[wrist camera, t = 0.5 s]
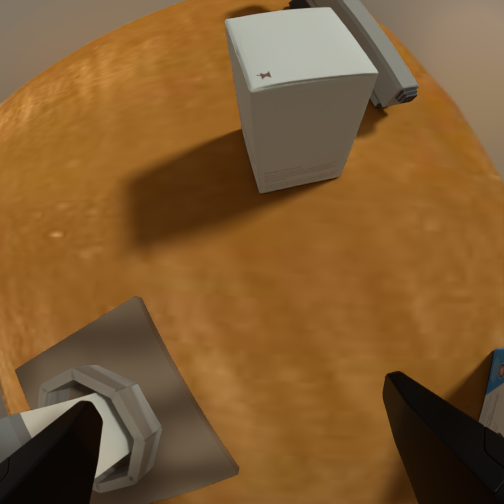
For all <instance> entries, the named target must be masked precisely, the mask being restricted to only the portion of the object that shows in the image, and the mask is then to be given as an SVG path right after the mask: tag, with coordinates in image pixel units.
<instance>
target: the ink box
mask: <svg viewBox="0 0 504 504" xmlns="http://www.w3.org/2000/svg"><path fill="white" fill-rule="evenodd" d="M479 422H480V423H481V424H483V425H484V427H485V426H486V427H488V428H489V429H491V430H493V431H494V432H496V433H498V434H499V435H501V436H503V437H504V348H501V349H495V350H494V355H493V361H492V367H491V372H490V377H489V382H488V386H487V391H486V396H485V399H484V403H483V407H482V411H481V414H480V418H479Z"/></svg>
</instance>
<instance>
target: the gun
mask: <svg viewBox="0 0 504 504" xmlns="http://www.w3.org/2000/svg"><path fill="white" fill-rule="evenodd" d="M289 5H290V7H291V8H292V9H304V8H322V7H330V8H331V9H332V10H333V11H334V12H335V14H336V15H337V16H338V17H339V19H340V20H341V21H342V23H343V24H344V25H345V26H346V28H347V29H348V30H349V32H350V33H351V34H352V36H353V37H354V38H355V40H356V41H357V42H358V44H359V45H360V47H361V48H362V49H363V51H364V52H365V54H366V55H367V56H368V58H369V59H370V61H371V62H372V64H373V65H374V67H375V68H376V69H377V71H378V75H377V78H376V81H375V84H374V87H373V89H372V92H371V95H370V99H371V101H372V103H373V104H374V106H375V107H377V108H380V107H388V106H392V105H396V104H402V103H406V102H410V101H412V100H413V99H414V98H415V97H416V96H417V93H416V92H417V90H416V89H417V88H418V87H419V86H418V84H417V82H416V80H415V79H414V77H413V75H412V74H411V72H410V71H409V69H408V67H407V66H406V64H405V63H404V61H403V59H402V58H401V56H400V55H399V53H398V52H397V50H396V49H395V47H394V46H393V44H392V43H391V42H390V40H389V39H388V37H387V36H386V34H385V33H384V32H383V30H382V29H381V28H380V26H379V25H378V24H377V22H376V21H375V20H374V18H373V17H372V16H371V14H370V13H369V12H368V11H367V9H366V8H365V7H364V6H363V4H362V3H361V2H360V1H359V0H292V1H290V2H289Z"/></svg>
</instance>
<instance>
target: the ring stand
mask: <svg viewBox="0 0 504 504" xmlns="http://www.w3.org/2000/svg"><path fill="white" fill-rule="evenodd" d="M15 371H16V374H17V376H18V379H19V382H20V384H21V387H22V389H23V392H24V394H25V396H26V399H27V401H28V403H29V406H30V408H31V410H35V409H39V408H43V407H47V406H51V405H54V404H58V403H62V402H66V401H69V400H73V399H76V398H80V397H83V396H87V395H90V394H93V393H97V392H99V393H101V394H103V395H105V396H107V397H109V398H111V400H112V402H113V404H114V406H115V407H116V409H117V411H118V413H119V415H120V417H121V418H122V420H123V422H124V424H125V425H126V427H127V429H128V430H129V432H130V434H131V436H132V437H133V439H134V444H133V449H132V451H131V452H129V453H128V454H127V455H126V456H124V457H123V458H122V459H120V460H119V461H118V462H116V463H115V464H114V465H112V466H111V467H110V468H108V469H107V470H106V471H104V472H103V473H102V474H100V475H99V476H98V477H96V478H95V479H94V484H93V489H92V494H91V499H90V504H149V503H153V502H157V501H160V500H164V499H167V498H171V497H174V496H178V495H181V494H184V493H187V492H190V491H193V490H196V489H199V488H202V487H205V486H208V485H211V484H214V483H216V482H219V481H222V480H224V479H227V478H229V477H232V476H234V475H237V474H238V472H239V467H238V465H237V464H236V462H235V461H234V460H233V458H232V457H231V455H230V454H229V452H228V451H227V449H226V448H225V446H224V445H223V443H222V442H221V440H220V439H219V437H218V436H217V434H216V432H215V431H214V429H213V428H212V426H211V425H210V423H209V421H208V420H207V418H206V417H205V415H204V413H203V412H202V410H201V408H200V407H199V405H198V403H197V402H196V400H195V398H194V397H193V395H192V393H191V392H190V390H189V388H188V386H187V385H186V383H185V381H184V379H183V378H182V376H181V374H180V372H179V370H178V369H177V367H176V365H175V363H174V361H173V359H172V358H171V356H170V354H169V352H168V350H167V348H166V346H165V344H164V342H163V341H162V339H161V337H160V335H159V333H158V331H157V329H156V327H155V325H154V323H153V321H152V319H151V317H150V315H149V312H148V310H147V308H146V306H145V304H144V302H143V300H142V298H141V297H137V296H135V297H133V298H132V299H130V300H128V301H127V302H125V303H123V304H122V305H120V306H118V307H117V308H115V309H113V310H112V311H110V312H108V313H107V314H105V315H103V316H102V317H100V318H98V319H97V320H95V321H93V322H92V323H90V324H88V325H87V326H85V327H83V328H82V329H80V330H78V331H77V332H75V333H74V334H72V335H70V336H69V337H67V338H65V339H64V340H62V341H60V342H59V343H57V344H56V345H54V346H52V347H51V348H49V349H47V350H46V351H44V352H43V353H41V354H39V355H38V356H36V357H35V358H33V359H31V360H30V361H28V362H27V363H25V364H23V365H22V366H20V367H19V368H17V369H15Z"/></svg>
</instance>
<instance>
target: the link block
mask: <svg viewBox="0 0 504 504" xmlns="http://www.w3.org/2000/svg"><path fill="white" fill-rule="evenodd" d="M81 400H85V401H91V402H92V403H93V404H94V405H95V407H96V409H97V410H98V412H99V413H100V415H101V417H102V419H103V428H102V436H101V443H100V452H99V459H98V465H97V470H96V475H95V478H96V477H98V476H99V475H100V474H102V473H103V472H104V471H106V470H107V469H108V468H110V467H111V466H112V465H114V464H115V463H116V462H118V461H119V460H120V459H122V458H123V457H124V456H126V455H127V454H128V453H129V452H131V451H132V449H133V444H134V439H133V437H132V436H131V434H130V432H129V430H128V429H127V427H126V425H125V424H124V422H123V420H122V418H121V417H120V415H119V413H118V411H117V409H116V407H115V406H114V404H113V402H112V400H111V398H109V397H107V396H105V395H103V394H101V393H99V392H97V393H93V394H90V395H87V396H83V397H80V398H76V399H73V400H69V401H66V402H62V403H58V404H54V405H51V406H47V407H43V408H39V409H35V410H31V411H27V412H23V413H18V414H14V415H9V416H6V417H4V418H2V419H0V463H1V462H2V461H4V460H5V459H6V458H7V457H9V456H10V455H11V454H13V453H14V452H15V451H16V450H18V449H19V448H20V447H21V446H23V445H24V444H25V443H27V442H28V441H29V440H30V439H32V438H33V437H34V436H35V435H37V434H38V433H39V432H41V431H42V430H43V429H44V428H46V427H47V426H48V425H49V424H51V423H52V422H53V421H54V420H56V419H57V418H58V417H60V416H61V415H62V414H63V413H65V412H66V411H67V410H68V409H70V408H71V407H72V406H73V405H75V404H76V403H77V402H79V401H81Z"/></svg>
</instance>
